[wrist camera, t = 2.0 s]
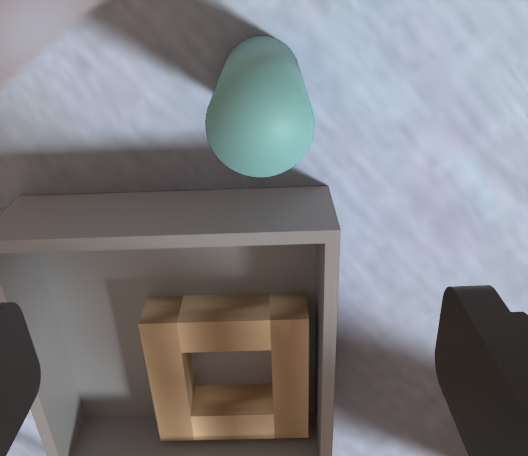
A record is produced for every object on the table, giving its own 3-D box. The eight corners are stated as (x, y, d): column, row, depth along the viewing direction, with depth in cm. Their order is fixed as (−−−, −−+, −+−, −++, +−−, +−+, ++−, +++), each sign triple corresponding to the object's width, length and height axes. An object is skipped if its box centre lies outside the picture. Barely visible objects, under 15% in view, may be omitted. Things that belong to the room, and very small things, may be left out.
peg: (299, 34, 28) (315, 68, 19) (299, 112, 30) (314, 175, 21) (220, 37, 28) (200, 72, 19) (226, 115, 30) (210, 179, 22)
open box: (328, 185, 32) (340, 230, 27) (322, 409, 42) (331, 474, 37) (19, 196, 33) (-29, 241, 28) (82, 415, 42) (55, 480, 37)
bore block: (305, 292, 35) (308, 319, 32) (305, 406, 40) (308, 437, 38) (147, 296, 35) (138, 323, 33) (167, 409, 40) (160, 441, 38)
